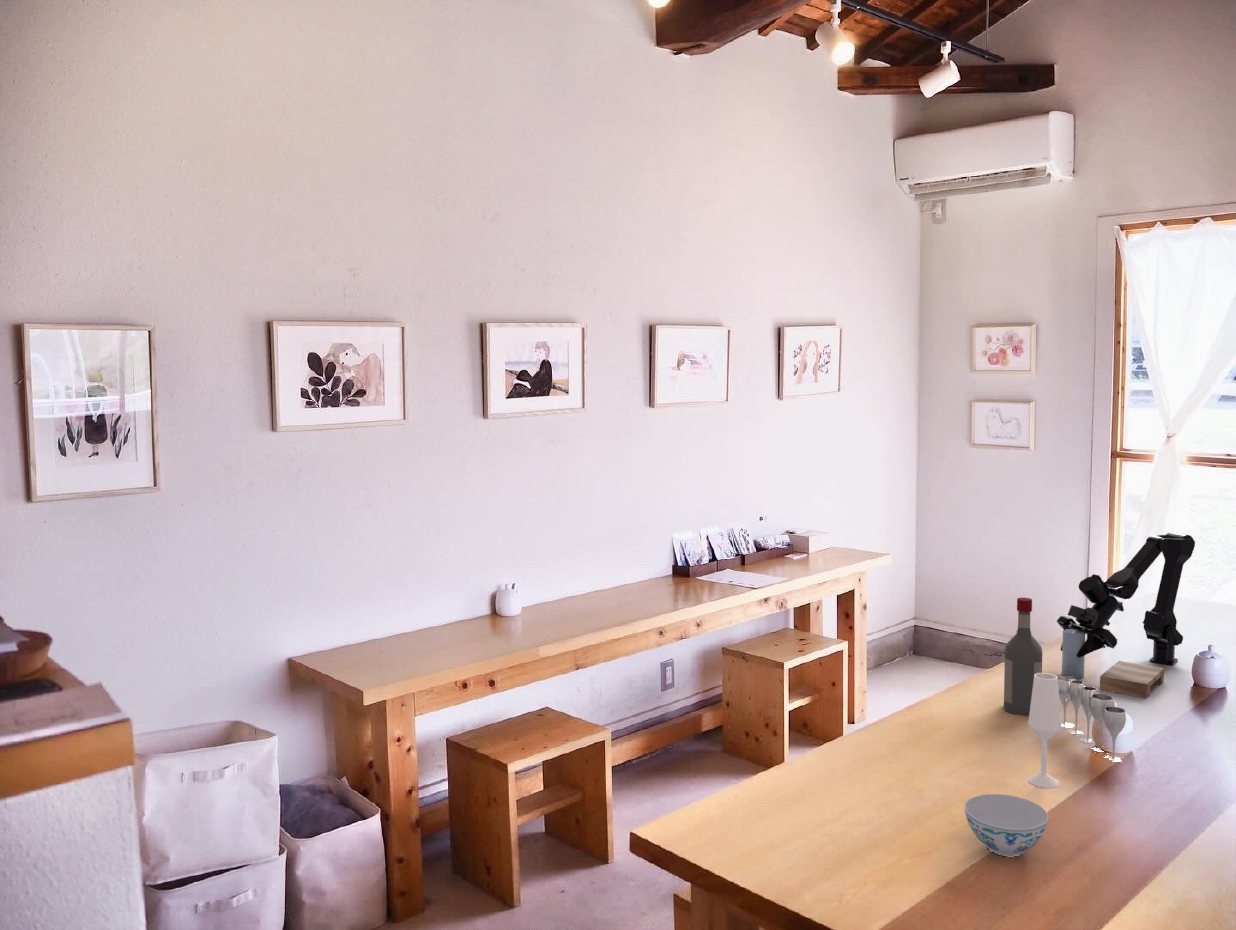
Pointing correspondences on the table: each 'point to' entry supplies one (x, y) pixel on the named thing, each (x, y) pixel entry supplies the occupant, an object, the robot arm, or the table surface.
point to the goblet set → (1091, 709)
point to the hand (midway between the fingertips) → (1069, 653)
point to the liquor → (1021, 663)
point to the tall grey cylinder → (1072, 653)
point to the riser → (1131, 678)
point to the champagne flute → (1044, 721)
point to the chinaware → (1006, 822)
